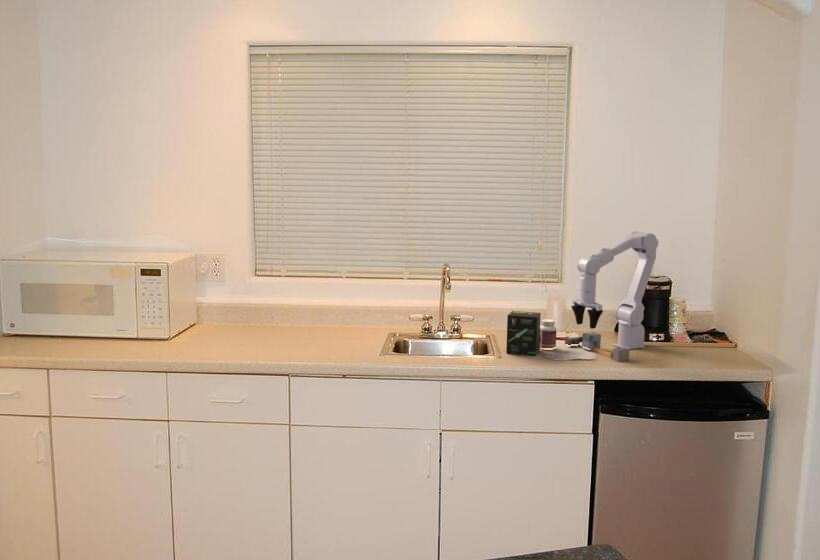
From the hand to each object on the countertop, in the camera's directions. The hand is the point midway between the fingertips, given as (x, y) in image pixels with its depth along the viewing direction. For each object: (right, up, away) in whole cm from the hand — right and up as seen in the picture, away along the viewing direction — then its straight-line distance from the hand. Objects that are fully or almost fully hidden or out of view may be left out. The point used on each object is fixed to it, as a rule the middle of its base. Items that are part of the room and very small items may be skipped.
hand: (586, 326), depth 266 cm
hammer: (+5, -10, -1) cm, 11 cm away
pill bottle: (-14, -9, +3) cm, 17 cm away
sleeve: (+3, -9, +3) cm, 10 cm away
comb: (0, -8, +10) cm, 13 cm away
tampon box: (-24, -10, -1) cm, 26 cm away
